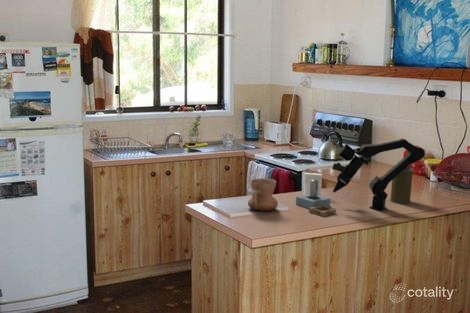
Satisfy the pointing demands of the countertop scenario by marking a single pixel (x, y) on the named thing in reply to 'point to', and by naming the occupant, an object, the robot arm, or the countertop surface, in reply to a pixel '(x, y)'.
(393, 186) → the canister
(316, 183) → the cylinder
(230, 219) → the countertop surface
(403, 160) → the robot arm
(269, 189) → the ceramic jug
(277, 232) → the countertop surface
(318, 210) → the square wooden frame
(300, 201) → the slate-blue hub block
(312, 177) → the off-white rectangular block
